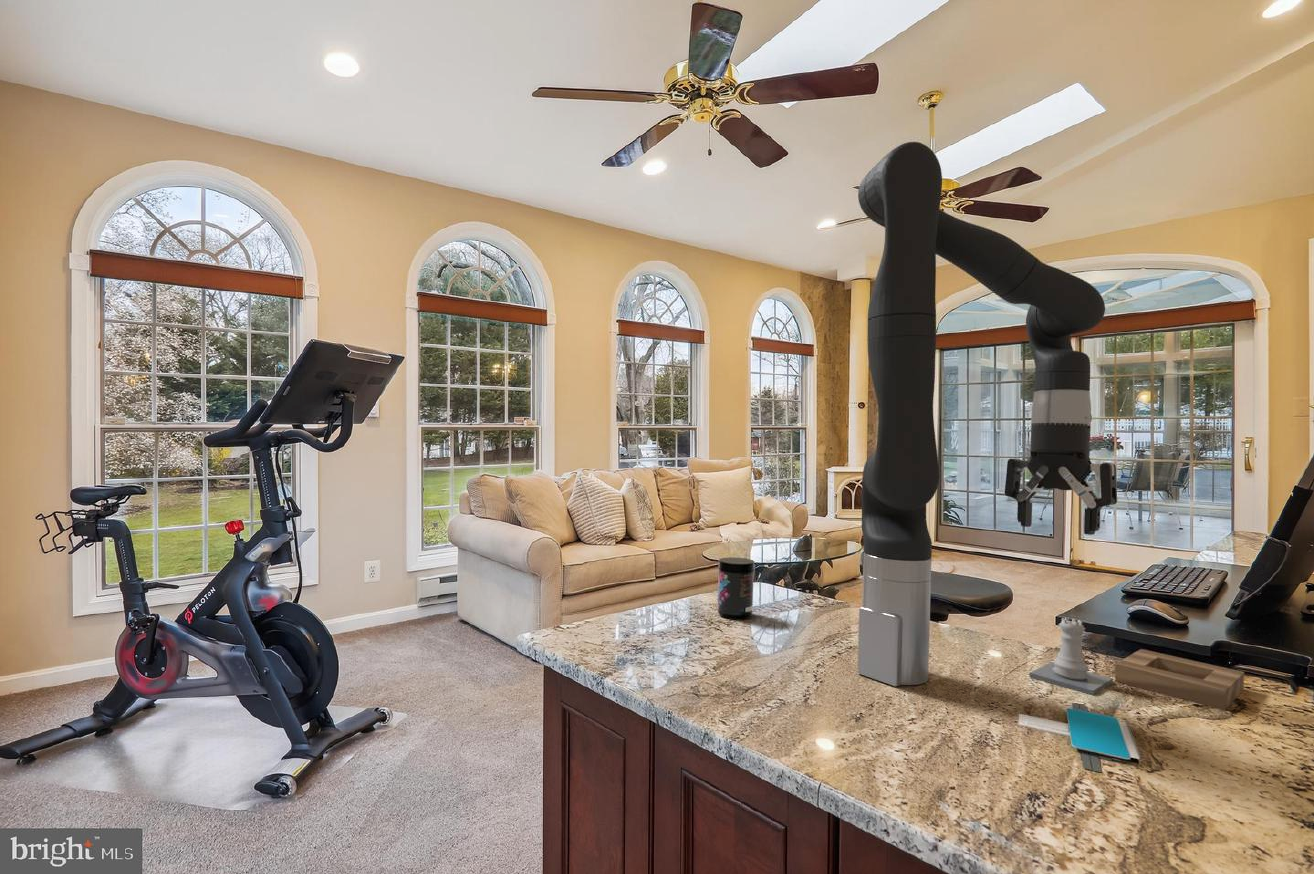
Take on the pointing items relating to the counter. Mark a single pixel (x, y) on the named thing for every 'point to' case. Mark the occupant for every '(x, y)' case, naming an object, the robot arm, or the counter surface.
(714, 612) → the counter surface
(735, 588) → the supplement container
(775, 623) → the counter surface
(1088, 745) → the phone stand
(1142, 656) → the pocket block
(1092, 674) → the slate coaster
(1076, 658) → the rook chess piece
